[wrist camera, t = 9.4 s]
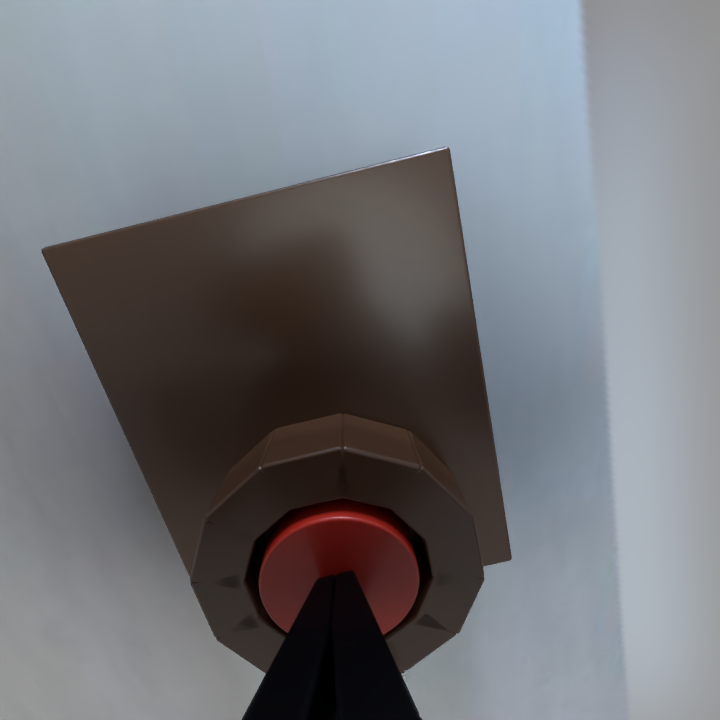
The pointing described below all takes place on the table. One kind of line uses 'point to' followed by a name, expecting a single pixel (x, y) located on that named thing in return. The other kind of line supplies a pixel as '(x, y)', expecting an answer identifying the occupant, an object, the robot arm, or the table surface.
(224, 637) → the switch block
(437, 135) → the table surface
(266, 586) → the red button
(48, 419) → the table surface
